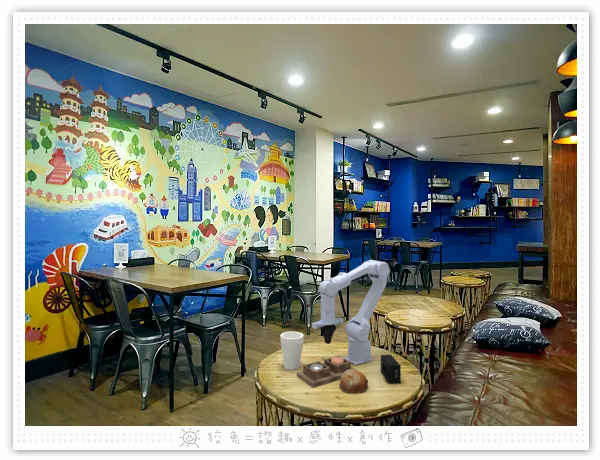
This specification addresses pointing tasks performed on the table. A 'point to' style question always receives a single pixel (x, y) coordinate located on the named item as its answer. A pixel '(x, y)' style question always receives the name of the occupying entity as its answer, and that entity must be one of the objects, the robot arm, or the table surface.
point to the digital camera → (390, 369)
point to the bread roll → (353, 381)
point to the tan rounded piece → (337, 360)
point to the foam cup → (291, 349)
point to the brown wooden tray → (323, 372)
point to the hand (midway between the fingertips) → (327, 343)
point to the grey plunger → (316, 367)
